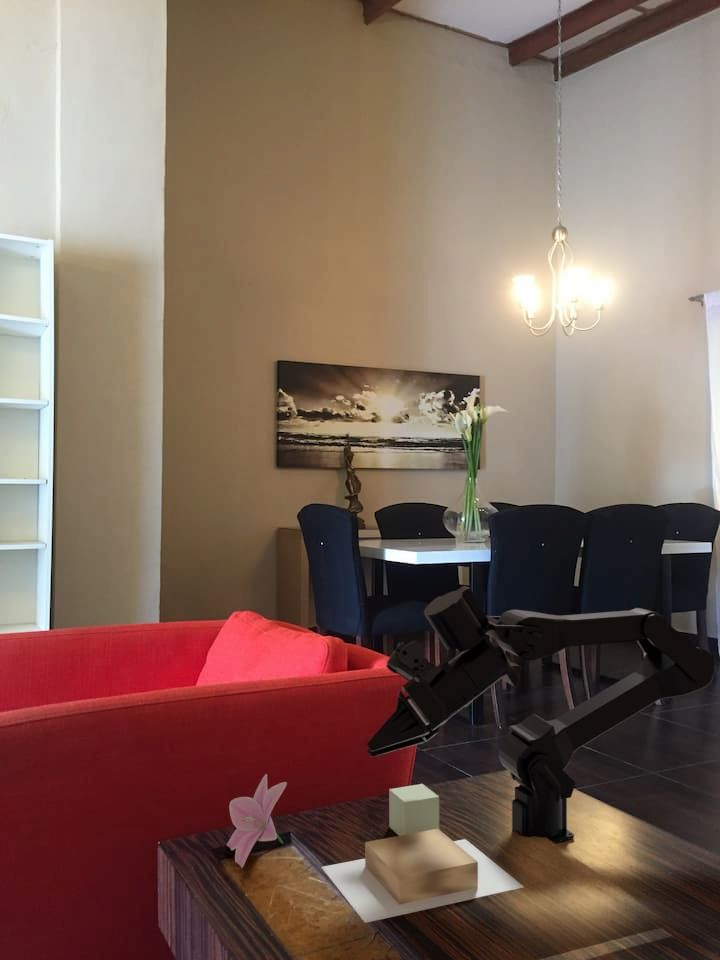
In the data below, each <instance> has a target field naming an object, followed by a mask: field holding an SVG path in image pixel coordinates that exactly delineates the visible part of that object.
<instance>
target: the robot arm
mask: <svg viewBox="0 0 720 960" xmlns="http://www.w3.org/2000/svg"><path fill="white" fill-rule="evenodd" d="M423 614H424V616H425V618H426V619H427V620H428V622H429V623H430V625H431V627H432V628H433V630H434V632H435V633H436V634H437V636H438V638H439V639H440V641H441V642H442V644H443V645H444V647H445V649H446V650H450V651H451V650H452V651H455V650H456V651H457V652H458V653H459V654H458V655H456V656H455V657H453V658H452V659H451V660H449V661H442V662H440V663H439V664H438V665H434V664H433V663H431V662H430V661H429V659H428V658H424V650H425V649H424V648H425V646H424V645H423V644H421V643H420V642H419V641H417V640H416V639H415V640H413V641H411V642H409V643H408V644H406V645H405V643H404V642H401V643H400V642H399V643H398V645H397V646H396V647H395V648H394V650H393V652H392V654H391V655H390V656H389V658H388V659H387V661H386V666H385V667H386V668H387V670H389V671H390V672H391V673H393V674H398V675H399V676H400V677H402V678H403V679H405V680H406V681H407V682H406V683H405V684H404V685H402V687H401V690H402V691H401V690H399V691H398V694H397V702H396V709H395V711H393V712H392V714H391V715H390V716H389V718H388V719H387V720H386V721H385V722H384V723H383V724H382V726H380V728H379V729H378V730H377V731H376V733H375V734H374V735H373V736H372V737H371V738H370V739H369V741H367V742H366V747H367V748H368V749H367V753H368V754H369V755H370V757H371V758H374V757H377V756H381V755H385V754H388V753H391V752H395V751H399V750H404V749H406V748H410V747H413V746H418V745H422V744H424V743H425V742H426V743H427V742H429V741H430V740H431V739H433V737H435V736H436V735H437V734H438V732H439V730H440V729H439V728H440V727H442V726H443V725H445V724H446V723H447V722H448V720H450V719H451V718H452V717H454V715H456V714H458V713H459V711H461V710H462V709H463V708H467V706H469V705H471V703H473V701H474V700H475V699H477V698H478V697H480V696H481V695H482V694H483V693H485V692H486V691H487V690H489V689H490V688H491V687H492V686H494V685H495V684H497V682H499V681H501V680H503V681H504V682H506V683H508V684H510V685H511V686H513V687H515V688H518V687H519V685H520V672H521V670H522V666H521V665H519V664H517V663H515V662H511V661H510V659H509V658H508V656H507V654H506V653H505V651H506V652H508V653H509V654H512V655H515V656H517V657H518V658H520V659H523V660H525V661H537V660H540V659H543V658H547V657H550V656H553V655H556V654H558V653H560V652H561V651H563V650H565V649H569V648H572V647H580V646H592V645H602V644H603V645H604V644H615V643H627V642H637V645H639V646H638V647H640V649H641V650H642V652H643V653H644V654H645V656H644V657H643V659H642V661H641V663H640V664H639V666H638V668H637V669H636V670H635V671H633V672H632V673H630V674H629V675H627V676H625V677H624V678H622V679H621V680H619V681H617V682H616V683H614V684H612V685H610V686H609V687H607V688H605V689H603V690H602V691H600V692H598V693H597V694H596V695H593V696H592V697H590V698H588V699H587V700H586V701H583V702H582V703H580V704H578V705H577V706H575V707H574V708H572V709H570V710H568V711H567V712H565V713H563V714H561V715H560V716H558V717H557V718H554V719H552V720H545V719H543V718H542V717H540V716H538V715H537V714H535V713H532V714H530V715H528V716H527V717H526V718H525V719H523V720H522V721H520V722H519V723H517V724H515V725H509V726H508V729H509V731H507V733H505V734H504V735H503V736H502V737H501V739H500V743H499V746H498V755H497V756H498V759H499V762H500V763H501V765H502V766H503V768H504V769H506V770H507V771H509V775H510V777H511V779H512V780H513V781H516V782H517V783H518V784H519V786H515V787H514V799H512V801H511V829H512V831H514V832H515V833H517V834H518V835H519V836H521V837H522V838H523V837H524V838H526V837H527V838H532V837H536V838H542V839H544V838H546V839H547V840H548V841H550V842H551V843H554V844H555V843H558V842H562V841H567V840H572V839H574V838H575V834H574V832H572V831H570V830H568V829H567V828H568V822H567V821H568V816H567V815H568V813H567V812H568V809H567V808H568V807H567V806H568V805H567V802H568V799H570V798H572V795H573V793H574V790H575V786H576V782H575V780H574V779H573V778H572V777H571V776H570V775H569V774H567V773H566V772H565V770H566V768H567V766H568V765H569V763H570V761H571V760H572V757H573V756H574V753H576V751H578V749H580V748H582V747H583V746H585V745H587V744H588V743H590V742H593V741H594V740H595V739H597V738H598V737H601V736H602V735H603V734H605V733H606V732H608V731H610V730H611V729H613V728H615V727H616V726H618V725H620V724H622V723H623V722H626V721H627V720H628V719H629V718H631V717H633V716H634V715H637V714H638V713H639V712H641V711H643V710H645V709H646V708H647V707H650V706H651V705H653V704H655V703H656V702H658V701H660V700H663V699H668V698H677V697H682V696H687V695H690V694H692V693H694V692H697V691H700V690H702V689H704V688H706V687H707V686H709V684H711V683H712V681H713V680H714V679H713V678H714V677H713V676H714V671H715V662H714V658H713V656H712V655H711V653H710V652H709V651H707V649H704V648H700V647H698V646H696V645H695V644H694V643H693V642H692V641H691V640H690V639H688V638H687V637H685V636H684V635H683V634H682V633H680V632H679V631H678V630H677V629H676V628H674V627H673V626H671V624H670V623H668V622H667V621H666V620H665V618H664V617H663V616H662V615H661V614H659V613H658V612H656V611H651V610H649V609H646V608H645V609H644V608H641V607H635V608H633V609H630V610H619V611H617V610H616V611H615V610H614V611H606V612H605V611H604V612H594V613H590V612H589V613H579V614H567V615H566V614H565V615H555V614H549V613H548V614H547V613H542V612H537V611H530V610H521V609H510V610H506V611H504V612H502V614H501V615H499V616H497V615H496V616H495V615H486V614H485V612H484V611H483V609H482V608H481V606H480V604H479V602H478V601H477V599H476V596H475V594H474V592H473V591H472V589H471V588H470V587H468V586H466V585H463V586H461V587H460V588H459V589H457V590H453V591H450V592H447V593H445V594H444V595H439V596H437V597H435V598H434V599H433V600H432V601H431V602H430V603H429V604H428V605H426V607H425V609H424V610H423ZM488 636H490V637H492V638H493V639H495V640H496V643H497V644H498V645H493V643H492V642H491V640H490V639H489V637H488ZM404 694H407V696H405V695H404Z"/></svg>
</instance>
